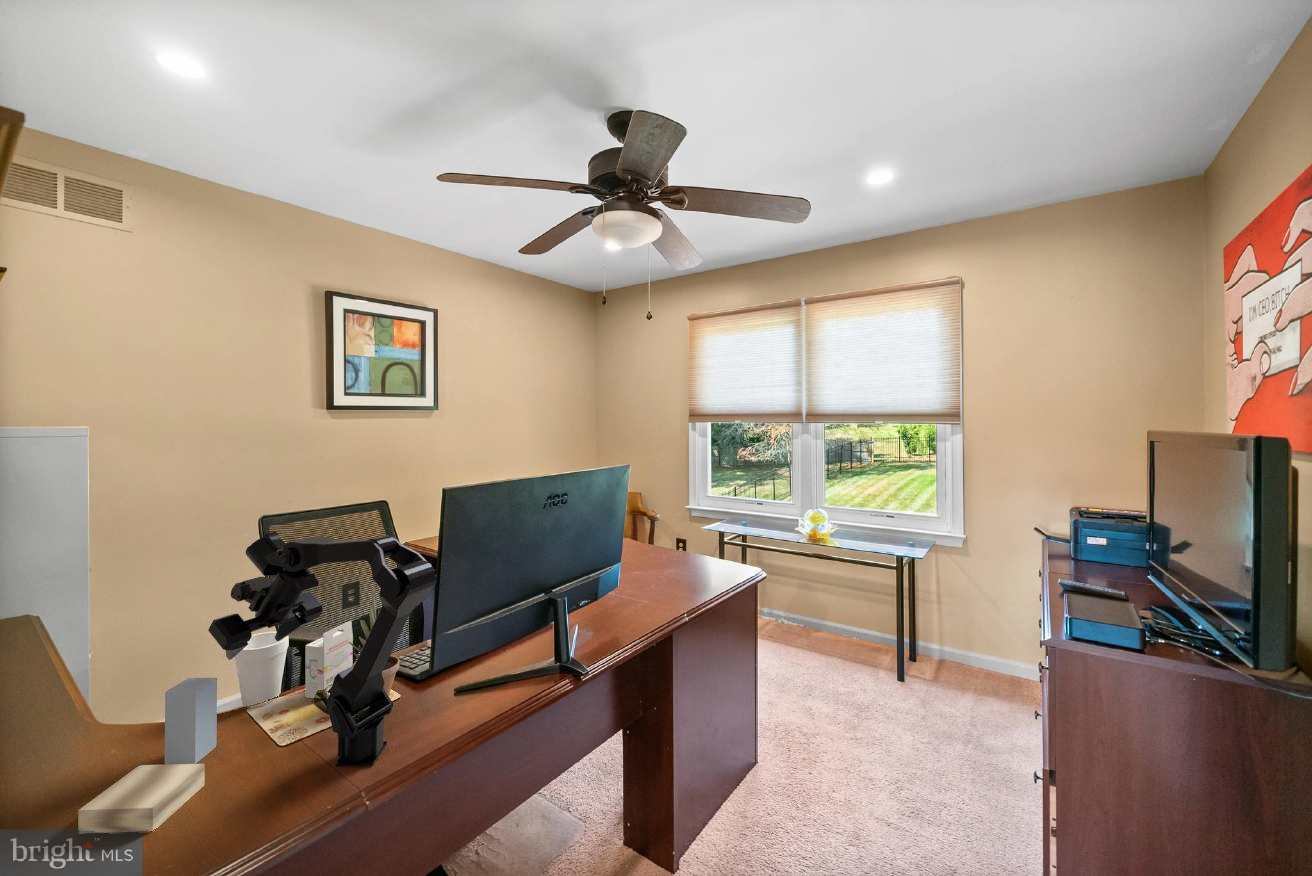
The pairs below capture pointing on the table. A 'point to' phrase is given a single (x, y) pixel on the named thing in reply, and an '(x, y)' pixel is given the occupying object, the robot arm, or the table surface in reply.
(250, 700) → the foam cup
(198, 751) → the slate blue pillar
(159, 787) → the maple block
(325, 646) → the ink cartridge box
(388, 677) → the potted plant
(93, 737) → the table surface
